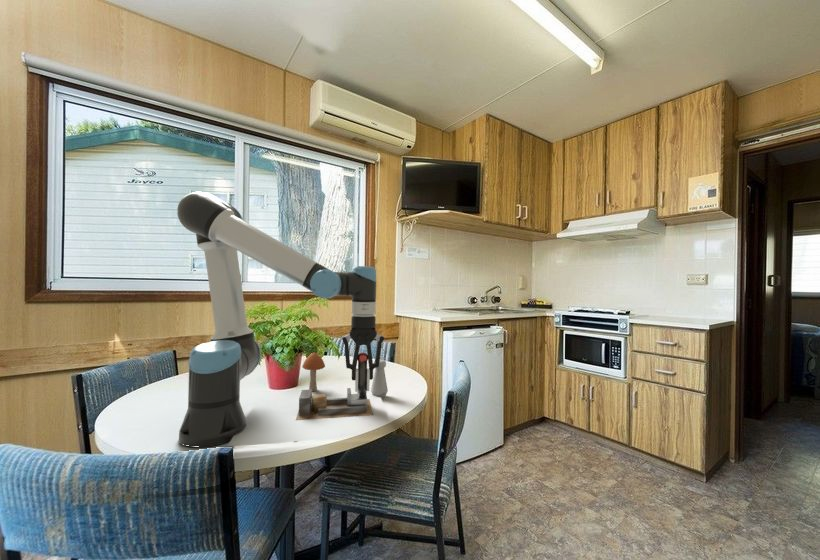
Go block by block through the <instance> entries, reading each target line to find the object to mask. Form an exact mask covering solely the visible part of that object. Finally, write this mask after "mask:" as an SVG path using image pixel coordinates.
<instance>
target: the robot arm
mask: <svg viewBox="0 0 820 560" xmlns="http://www.w3.org/2000/svg"><path fill="white" fill-rule="evenodd" d="M176 210H177V211H176V214H177V217H178V220H179V222H180V223H181V225H182V226H183V227H184V228H185V229H186V230H188V231H190V232H191V233H194V234H195V237H196V243H197V247H198V248H199V249H201V250H202V251H203V252H204V257H205V258H204V259H205V264H206V272H207V273H206V274H207V279H208V286H209V287H208V288H209V293H210V295H209V296H210V302H211V308H212V316H213V324H214V330H215V331H214V333H213V334H212V335H211V336H210V341H209V342H204V343H200V344H198V345H196V346H195V347H193V348H192V349H191V351H190V353H189V360H188V362H187V364H188V388H187V389H188V391H187V393H188V395H187V396H188V397H187V410H186V413H185V415H184V418H183V421H182V423H181V426H180V429H179V431H178V442H180V443H181V444H184V445H189V446H199V447H198V448H207V447H215V446H219V445H223V444H226V443H229V442H231V441H232V439H233V437H234V436H236V435H239V434H240V433H242V432H243V431H244V430H245V429H246V427H247V420H246V416H245V412H244V410H243V408H242V407H243V406H242V405H241V401H240V396H241V395H240V394H241V390H240V389H241V381H242V380H243V379H244V378H245V377H247V376H248V375H250V374H251V373H252V372H254V370H255V369H256V368H257V367H258V365H259V364H260V361H261V358H262V349H261V346H260V345H259V343H258V342H257V341H256V340H255V333H254V329H252V328H250V327H249V326H248V322H247V315H246V307H245V299H244V293H243V292H244V291H243V286H242V279H241V278H242V277H241V270H240V264H239V256H238V252H240V253H241V254H244V255H245V256H247V257H249V258H251V259H252V260H255V261H256V262H258V263H259V264H261V265H263V266H265V267H267V268H269V269H271V270H272V271H274V272H276V273H278V274H280V275H282V276H284V277H285V278H288V279H289V280H291V281H293V282H295V283H296V284H297V285H300V286H302V287H304V288H305V289H307V290H309V291H311V292H312V294H313V295H314V296H316V297H319V298H321V299H325V300H326V299H327V300H328V299H332V298H334V297H351V314H352V316H351V326H350V331H349V333H348V334H347V335H342V336H341V340H342V342H343V344H344V353H345V354H344V355H345V366H346V369H349V370H351V380H352V381H354V391H355V392H356V393H358V355H359V354H360V352H359V351H360V347H361V346H366V347H365V348H366V354H367V355H368V360H367V364H368V367H367V392H370V380H371V381H373V378H374V370H375V368H376V367H379V363H380V360H381V353H382V344H383V342H384V340H385V337H384V335H382V334H378V332H377V330H376V309H377V305H376V304H377V303H376V301H377V300H376V299H377V269H376V267H374V266H370V265H368V266H367V265H361V266H360V265H358V266H357V265H355V266H352V270H351V271H350V272H345V271H344V272H340V271H333V270H331V269H329V268H327V267H325V266H324V265H322V264H320V263H318V262H317V261H315V260H313V259H312V258H309V257H308V256H306V255H304V254H303V253H301V252H299V251H297V250H295V249H294V248H292V247H290V246H288V245H287V244H285V243H283V242H281V240H280V241H279V240H278V239H276V238H274V237H272V236H270V235H269V234H267V233H265V232H264V231H262V230H260V229H258V228H257V227H255V226H254V225H253V226H252V225H251V224H249V223H248V222H246V221H244V219H243V216H242V215H241V212H240V211H238V210H237V208H236V207H235V206H234V205H232V204H230V203H229V202H226V201H223V200H222V199H220V198H219V197H217V196H215V195H213V194H211V193H209V192H204V191H203V192H202V191H195V192H194V191H193V192H190V193H188V194H186V195H185V196H183V197H182V199H180V201H179V203H178V205H177V209H176ZM350 338H351V339H352V340H353V342H354V343H355V346H354V351H353V358H352V363H351V360H350V347H349V342H350V341H351V339H350ZM374 339H375V340H376V349H375V357H374V361H375V363H374V361H373V354H372V345H371V343H373V341H374ZM180 443H179V444H180ZM181 444H180V445H181Z"/></svg>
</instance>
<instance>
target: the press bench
mask: <svg viewBox="0 0 820 560" xmlns="http://www.w3.org/2000/svg"><path fill="white" fill-rule="evenodd" d="M312 394H313V392H312V390H309V389H302V390H301V392H300V395H299V398H298V411H297V414H296V418H295V421H303V420H319V419H334V418H335V419H337V418H349V417H362V416H363V417H365V416H367V417H369V416H374V415H375V414H374V411H373V408H372V404H371V400H370V398H367V399H368V400H367V409H366V406H351V407H347V397H339V398H327V406H326V408H319V409H318V412H313V411H312V396H313V395H312Z"/></svg>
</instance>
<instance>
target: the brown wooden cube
mask: <svg viewBox="0 0 820 560" xmlns="http://www.w3.org/2000/svg"><path fill="white" fill-rule="evenodd" d="M327 396H328V395H327V394H324V393H318V394H313V395H312V411H313V412H318V409H319V408H326V406H327V399H328V398H327Z"/></svg>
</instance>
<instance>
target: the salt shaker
mask: <svg viewBox="0 0 820 560" xmlns="http://www.w3.org/2000/svg"><path fill="white" fill-rule="evenodd" d="M373 363H375V360H374V361H373ZM386 367H387V361H386V360H384V359H380V363H379V367H376V368H374V372H373V379H372V383H371V388H370V389H371V390H370V392H371V394H372V395H373V396H375V397H380V399H382V398H383V399H385V398H386V396H387V394H388V392H389V389H388V384H387V377H386V372H385V371H386V370H385V368H386Z"/></svg>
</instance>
